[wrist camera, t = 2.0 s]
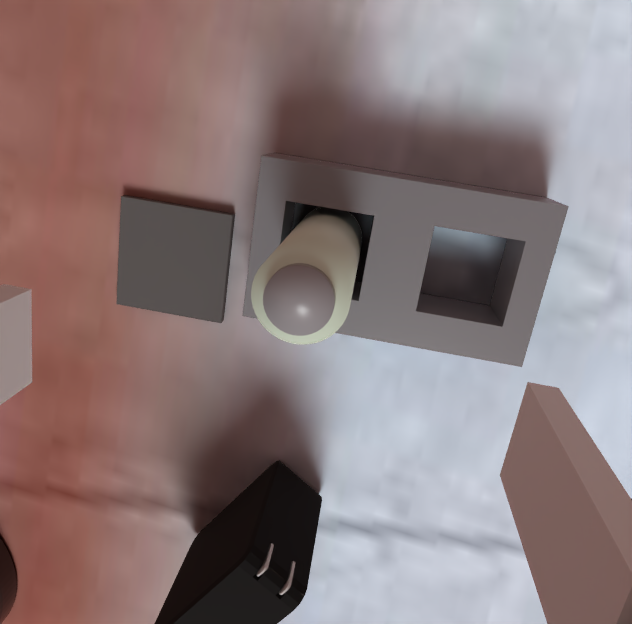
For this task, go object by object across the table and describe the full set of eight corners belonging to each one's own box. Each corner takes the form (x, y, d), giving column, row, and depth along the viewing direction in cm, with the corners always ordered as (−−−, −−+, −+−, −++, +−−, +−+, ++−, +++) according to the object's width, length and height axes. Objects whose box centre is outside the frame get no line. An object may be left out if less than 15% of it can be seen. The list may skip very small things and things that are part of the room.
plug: (292, 264, 36) (242, 339, 23) (302, 200, 35) (254, 242, 22) (356, 275, 36) (340, 358, 23) (367, 211, 34) (358, 260, 22)
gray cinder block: (257, 296, 37) (242, 315, 33) (275, 152, 34) (261, 155, 30) (507, 341, 36) (521, 366, 32) (547, 197, 33) (568, 206, 29)
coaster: (120, 301, 38) (116, 303, 37) (125, 195, 36) (121, 196, 35) (223, 320, 38) (221, 323, 37) (234, 214, 35) (232, 215, 35)
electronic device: (193, 536, 43) (140, 650, 34) (280, 455, 40) (248, 555, 31) (235, 570, 44) (194, 692, 34) (324, 492, 41) (306, 602, 31)
